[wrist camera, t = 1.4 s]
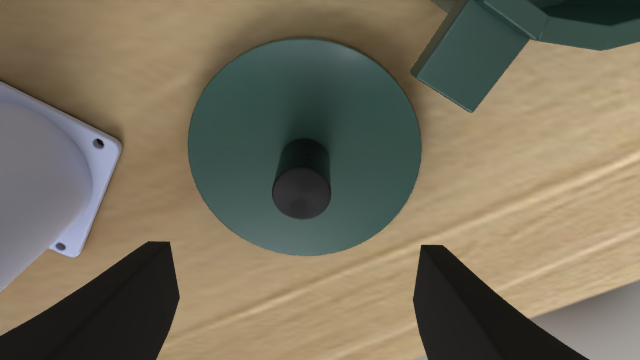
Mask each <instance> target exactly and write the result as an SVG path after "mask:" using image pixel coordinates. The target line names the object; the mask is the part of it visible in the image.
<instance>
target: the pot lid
mask: <svg viewBox="0 0 640 360" xmlns="http://www.w3.org/2000/svg"><path fill="white" fill-rule="evenodd" d="M421 148H422V147H421V135H420V130H419V125H418V121H417V117H416V115H415V112H414V110H413V107H412V104H411V103H410V101H409V99H408V97H407V96H406V94H405V92H404V90H403V89H402V88H401V87H400V85H399V84H398V83H397V81H396V80H395V79H394V78H393V76H392V75H391V74H389V73H388V72H387V71H386V70H385V69H384V68H383V67H382V66H381V65H380V64H379V63H377V62H376V61H375V60H373V59H372V58H370V57H369V56H368V55H366V54H364V53H362V52H360V51H358V50H356V49H355V48H352V47H350V46H347V45H344V44H342V43H339V42H335V41H331V40H326V39H322V38H310V37H297V38H285V39H280V40H275V41H270V42H268V43H265V44H262V45H259V46H256V47H254V48H252V49H250V50H248V51H246V52H244V53H242V54H240V55H239V56H238V57H236V58H235V59H234V60H232V61H231V62H229V63H228V64H227V65H225V66H224V67H223V68H222V69H221V70H220V71H219V72H218V73H217V74H216V75H215V76H214V77H213V79H212V80H211V81H210V82H209V84H208V85H207V86H206V88H205V89H204V91H203V93H202V94H201V96H200V98H199V100H198V102H197V104H196V107H195V109H194V112H193V115H192V118H191V122H190V127H189V134H188V156H189V163H190V168H191V172H192V175H193V178H194V181H195V184H196V186H197V189H198V190H199V192H200V194H201V196H202V198H203V200H204V201H205V203H206V204H207V206H208V207H209V209H210V210H211V211H212V212H213V213H214V215H215V216H216V217H217V218H218V219H219V220H220V221H221V222H222V223H223V224H224V225H225V226H227V227H228V228H229V229H230V230H231V231H233V232H234V233H236V234H237V235H238V236H240V237H241V238H243V239H245V240H247V241H249V242H251V243H252V244H255V245H257V246H259V247H262V248H264V249H267V250H271V251H274V252H278V253H283V254H289V255H299V256H315V255H324V254H331V253H335V252H339V251H343V250H346V249H348V248H351V247H354V246H356V245H358V244H360V243H362V242H364V241H366V240H368V239H370V238H371V237H373V236H374V235H375V234H377V233H378V232H380V231H381V230H382V229H383V228H385V227H386V226H387V225H388V224H389V223H390V222H391V221H392V220H393V219H394V218H395V217H396V215H397V214H398V213H399V212H400V211H401V209H402V208H403V206H404V205H405V203H406V202H407V200H408V198H409V196H410V194H411V192H412V190H413V188H414V185H415V182H416V180H417V177H418V173H419V168H420V163H421Z"/></svg>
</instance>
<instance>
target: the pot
mask: <svg viewBox="0 0 640 360" xmlns="http://www.w3.org/2000/svg"><path fill="white" fill-rule="evenodd" d="M432 1H433V2H434V3H436V4H437V5H438V6H439V7H440V8H442V9H443V10H444V11H445V12H447V13H448V15H447V17H446V18H445V20H444V21H443V23H442V24H441V26H440V27H439V29H438V30H437V32H436V33H435V35H434V36H433V38H432V39H431V41H430V42H429V43H428V45H427V46H426V48H425V49H424V51H423V52H422V54H421V55H420V57H419V58H418V60H417V61H416V63H415V64H414V66H413V67H412V69H411V70H410V73H411V74H412V75H413V76H414V77H415V78H416V79H418V80H419V81H421V82H423V83H424V84H426V85H427V86H429V87H430V88H432V89H434V90H435V91H437V92H438V93H440V94H441V95H443V96H444V97H446V98H448V99H449V100H451V101H452V102H454V103H455V104H457V105H459V106H460V107H462V108H463V109H465V110H466V111H468V112H470V113H472V112H474V110H475V109H476V108H477V106H478V105H479V104H480V103H481V101H482V100H483V99H484V97H485V96H486V95H487V94H488V92H489V91H490V90H491V88H492V87H493V86H494V85H495V83H496V82H497V81H498V79H499V78H500V77H501V76H502V74H503V73H504V72H505V70H506V69H507V68H508V67H509V65H510V64H511V63H512V61H513V60H514V59H515V58H516V56H517V55H518V54H519V52H520V51H521V50H522V49H523V47H524V46H525V45H526V43H527V42H528V41H529V39H531V40H535V41H540V42H547V43H553V44H560V45H566V46H573V47H579V48H586V49H592V50H599V51H601V50H608V49H612V48H616V47H620V46H624V45H628V44H632V43H636V42H640V0H432Z"/></svg>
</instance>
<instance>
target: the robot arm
mask: <svg viewBox="0 0 640 360" xmlns="http://www.w3.org/2000/svg"><path fill="white" fill-rule="evenodd" d="M97 139H100V140H102V141H103V143H104V146H101V145H100V144H98V142H97ZM121 151H122V145H121V143H120V142H119V140H117V139H116V138H114V137H112V136H110V135H108V134H106V133H104V132H102V131H100V130H98V129H96V128H94V127H92V126H90V125H88V124H86V123H84V122H82V121H80V120H78V119H76V118H74V117H72V116H70V115H68V114H66V113H64V112H62V111H60V110H58V109H56V108H54V107H52V106H50V105H47V104H45V103H43V102H41V101H39V100H37V99H35V98H33V97H31V96H29V95H27V94H25V93H23V92H21V91H19V90H17V89H15V88H13V87H11V86H9V85H7V84H5V83H3V82H1V81H0V292H1V291H2V290H3V289H5V288H6V287H7V286H8V285H9V284H10V283H11V282H12V281H13V280H14V279H15V278H16V277H17V276H18V275H20V274H21V273H22V272H23V271H24V270H25V269H26V268H27V267H28V266H29V265H30V264H31V263H32V262H34V261H35V260H36V259H37V258H38V257H39V256H40V255H41V254H42V253H43V252H44V251H45V250H46V249H47V248H49V249H52V250H54V251H56V252H59V253H61V254H64V255H66V256H69V257H76V256H78V255H79V254H80V252H81V251H82V249H83V247H84V244H85V242H86V239H87V237H88V234H89V232H90V229H91V227H92V224H93V222H94V219H95V217H96V214H97V212H98V209H99V207H100V204H101V202H102V199H103V197H104V194H105V191H106V189H107V186H108V184H109V181H110V179H111V176H112V174H113V171H114V169H115V166H116V164H117V161H118V159H119V156H120V154H121ZM61 243H62V244H64V245H65V246H63V245H62V244H61ZM179 298H180V296H179V290H178V285H177V279H176V274H175V268H174V263H173V257H172V252H171V246H170V242H155V241H148V242H147V243H145V244H143V245H142V246H140V247H139V248H137V249H136V250H134V251H133V252H132V253H130V254H129V255H127V256H126V257H124V258H123V259H122V260H120V261H119V262H117V263H116V264H115V265H113V266H112V267H110V268H109V269H107V270H106V271H105V272H103V273H102V274H100V275H99V276H97V277H96V278H95V279H93V280H92V281H90V282H89V283H87V284H86V285H84V286H83V287H81V288H80V289H78V290H77V291H75V292H74V293H72V294H70V295H69V296H67V297H66V298H64V299H63V300H61V301H60V302H58V303H57V304H55V305H53V306H52V307H50V308H49V309H47V310H45V311H44V312H42V313H40V314H39V315H37V316H35V317H34V318H32V319H30V320H28V321H27V322H25V323H23V324H21V325H19V326H18V327H16V328H14V329H12V330H10V331H9V332H7V333H5V334H3V335H1V336H0V360H156V358H157V356H158V354H159V352H160V350H161V348H162V345H163V343H164V341H165V339H166V337H167V335H168V332H169V330H170V327H171V324H172V321H173V318H174V315H175V312H176V308H177V305H178V302H179ZM413 303H414V308H415V314H416V319H417V324H418V328H419V333H420V336H421V339H422V342H423V345H424V348H425V352H426V355H427V357H428V360H589V359H587V358H585V357H584V356H582V355H581V354H579V353H577V352H576V351H574V350H573V349H571V348H570V347H568V346H567V345H565V344H564V343H562V342H561V341H559V340H558V339H556V338H555V337H553V336H552V335H550V334H549V333H548V332H546V331H545V330H543V329H542V328H540V327H539V326H537V325H536V324H535V323H533V322H532V321H531V320H529V319H528V318H527V317H525V316H524V315H523V314H522V313H520V312H519V311H518V310H516V309H515V308H514V307H513V306H511V305H510V304H509V303H507V302H506V301H505V300H504V299H503V298H501V297H500V296H499V295H498V294H497V293H495V292H494V291H493V290H492V289H491V288H490V287H488V286H487V285H486V284H485V283H484V282H483V281H482V280H481V279H479V278H478V277H477V276H476V275H475V274H474V273H473V272H472V271H471V270H469V269H468V268H467V267H466V266H465V265H464V264H463V263H462V262H461V261H460V260H459V259H458V258H456V257H455V256H454V255H453V254H452V253H451V252H450V251H449V250H448V249H447V248H445V247H444V246H443V245H421V251H420V257H419V264H418V270H417V277H416V284H415V290H414V297H413Z"/></svg>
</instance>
